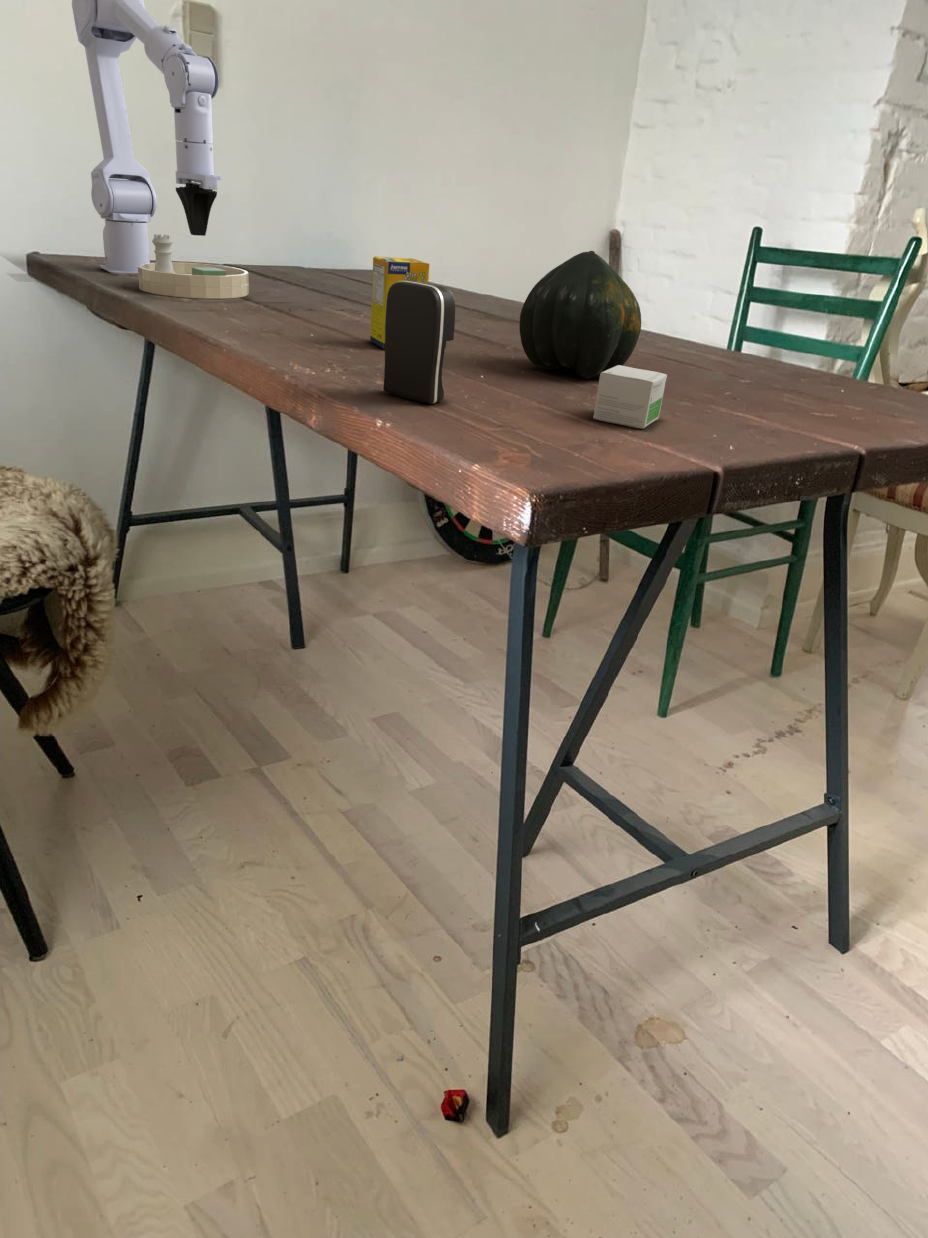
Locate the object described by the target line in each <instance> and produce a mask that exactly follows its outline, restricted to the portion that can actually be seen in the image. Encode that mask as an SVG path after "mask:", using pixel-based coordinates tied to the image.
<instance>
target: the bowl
mask: <svg viewBox="0 0 928 1238" xmlns="http://www.w3.org/2000/svg"><path fill="white" fill-rule="evenodd" d="M172 266H173V270H174V272H175V273H168V272H160V271H154V270H155V262H150V263H144V264H140V265H138V273H137V277H138V288H139V290H140V291H142V292H144V293H148V294H152V295H158V296H164V297H171V298H172V297H173V298H185V299H205V300H206V299H207V300H208V299H209V300H210V299H211V300H219V299H220V300H224V299H237V298H244V297H247V296H248V295H249V294H250V284H249V283H250V282H249V281H250V280H249V279H250V278H249V275H250V274H249V271H248V270H245V269H242V268H238V267H233V266H227V265H221V264H220V265H219V264H210V263H200V262H199V263H198V262H175V261H172ZM192 267H215V268H218V269H222V270H225V271H226V275H221V276H215V275H192Z"/></svg>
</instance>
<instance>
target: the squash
mask: <svg viewBox="0 0 928 1238" xmlns="http://www.w3.org/2000/svg"><path fill="white" fill-rule="evenodd" d="M641 331H642V313H641V307H640V304H639V302H638V299H637V297H636V296H635V294H634V292H633V291H632V289H631V288H630V286H629V285H628V284H627V283H626V282H625V280H623V278H622V277H621V276H620V275H619V273H617V272H616V271H615V269H614V268H613V267H612V266H610V265H609V263H608V262H607V261H606V260H605V259H603V257H601V256H600V254H597V253H596V252H595V251H594V250H589V251H582V252H580V253H578V254H575V255H573V256H572V257H570V258H569V259H566V260H565V261H564V262H562V263H561V264H559V265H557V266H556V267H554V268H553V269H551V270H550V271H548V272H547V273H546V274H544V276H543V277H541V279H539V280H538V282H536V283H535V284H534V286H533V287H532V288H531V290H530V291H529V293H528V294H527V296H526V298H525V300H524V302H523V305H522V308H521V310H520V313H519V336H520V343H521V347H522V349H523V352H524V353H525V355H526V357H527V359H528V360H529V361H530V362H531V363H532V364H533V365H534V366H535V367H538V368H539V369H542V370H546V371H553V370H554V371H555V370H558V369H560V368H562V367H564V368H568V369H570V368H573V367H574V370H575V372H576V375H578V376H580V377H581V378H583V379H586V380H588V379H593V378H594V377H596V376H600V374H601V372H604V371H606V370H608V369H611V368H613V367H615V366H617V365H621V366H625V364H626V363H627V361H628V360H629V359H630V357H631V356H632V354H633V352H634V351H635V348H636V346H637V343H638V341H639V337H640V334H641Z"/></svg>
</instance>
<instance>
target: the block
mask: <svg viewBox="0 0 928 1238" xmlns="http://www.w3.org/2000/svg"><path fill="white" fill-rule="evenodd" d="M192 275H215V276H221V275H226V271H225V270H222V269H218V268H215V267H192Z"/></svg>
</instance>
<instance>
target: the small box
mask: <svg viewBox="0 0 928 1238" xmlns="http://www.w3.org/2000/svg"><path fill="white" fill-rule="evenodd" d="M667 377H668V374H666V373H664V372H663V373H662V372H659V371H653V370H648V369H642V368H636V367H635V368H634V367H631V366H628V365H627V366H626V365H623V366H621V365H617V366H615V367H613V368H611V369H608V370H606V371H604V372H601V374H600V375H599V379H598V384H597V392H596V398H595V404H594V412H593V416H592V418H593V419H594V420H596V421H601V422H605V423H611V424H616V425H621V426H625V427H630V428H635V429H641V430H644V429H645V428H646V427H648V426H649V425H651V424H652V423H654V422H655V421H657V420H659V417H660V414H661V408H662V403H663V398H664V393H665V387H666V383H667Z"/></svg>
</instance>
